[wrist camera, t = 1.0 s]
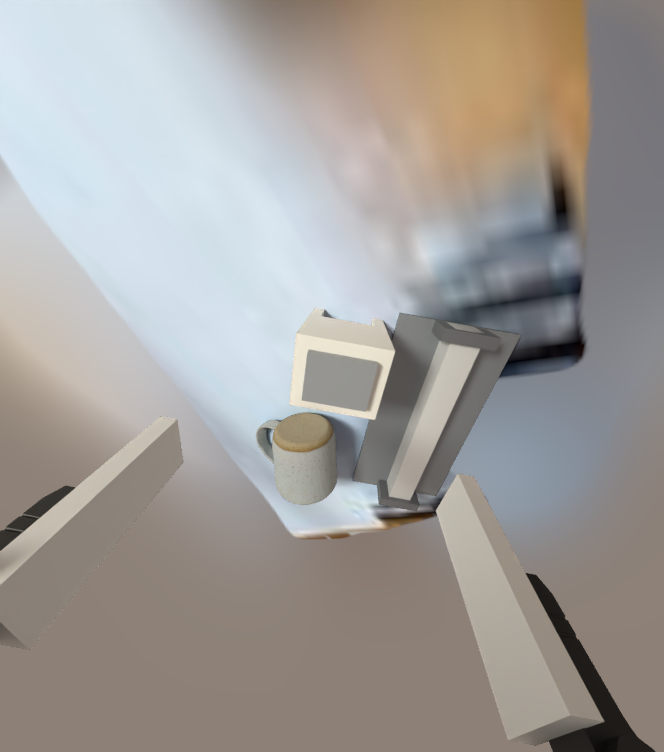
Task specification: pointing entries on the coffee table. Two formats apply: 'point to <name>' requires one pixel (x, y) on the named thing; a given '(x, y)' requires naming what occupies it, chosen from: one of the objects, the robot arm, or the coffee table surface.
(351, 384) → the module
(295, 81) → the coffee table surface
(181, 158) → the coffee table surface
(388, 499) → the rail base
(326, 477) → the ceramic mug
